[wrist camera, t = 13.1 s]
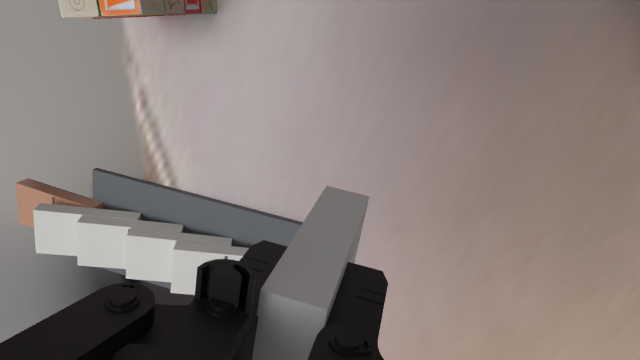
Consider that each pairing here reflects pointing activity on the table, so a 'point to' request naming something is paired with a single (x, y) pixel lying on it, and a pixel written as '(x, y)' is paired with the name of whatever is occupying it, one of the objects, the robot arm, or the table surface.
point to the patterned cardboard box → (134, 8)
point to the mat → (189, 212)
